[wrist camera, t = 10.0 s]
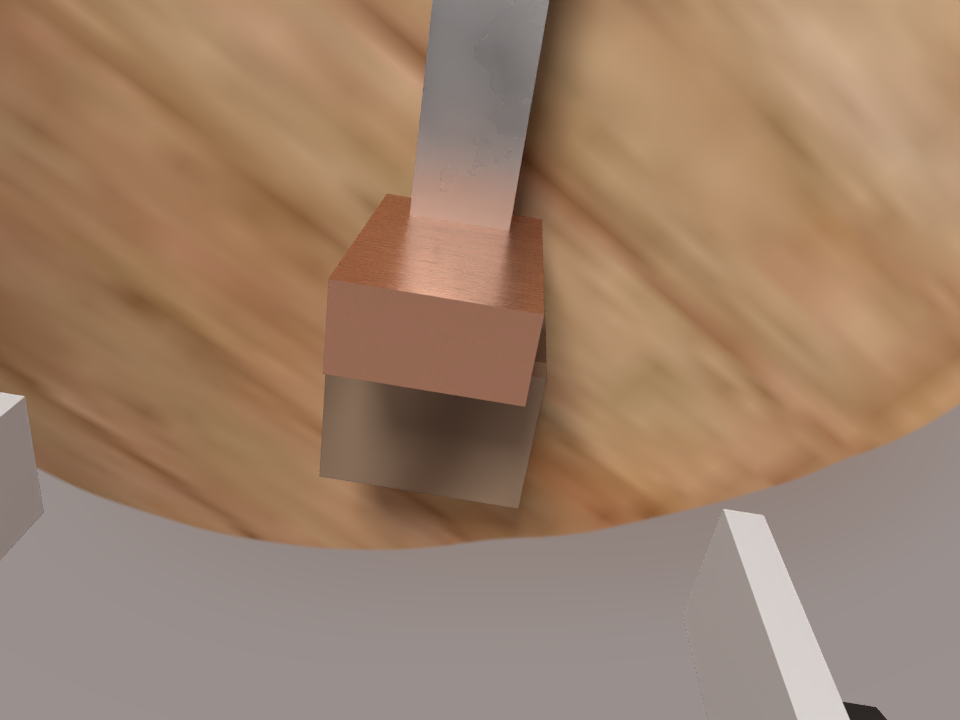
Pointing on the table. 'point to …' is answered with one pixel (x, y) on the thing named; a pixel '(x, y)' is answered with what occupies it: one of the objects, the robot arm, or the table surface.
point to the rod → (453, 225)
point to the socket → (430, 438)
